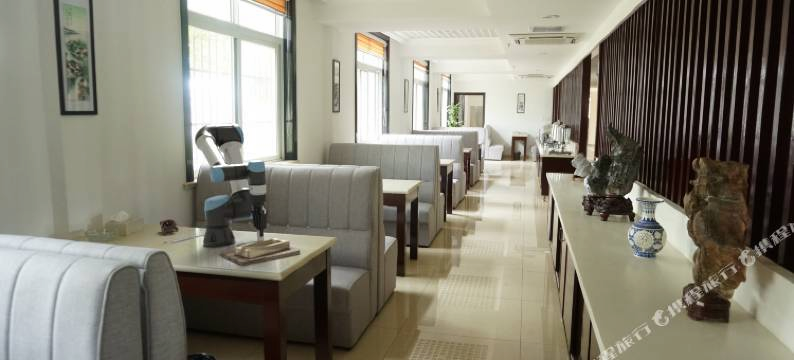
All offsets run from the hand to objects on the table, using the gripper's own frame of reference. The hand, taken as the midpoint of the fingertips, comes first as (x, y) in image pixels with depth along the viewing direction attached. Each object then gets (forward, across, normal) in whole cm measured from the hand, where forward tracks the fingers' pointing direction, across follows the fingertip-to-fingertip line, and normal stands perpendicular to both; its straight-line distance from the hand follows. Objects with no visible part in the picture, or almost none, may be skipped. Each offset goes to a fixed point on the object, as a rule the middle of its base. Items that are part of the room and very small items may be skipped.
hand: (260, 242), depth 260 cm
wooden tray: (+1, +10, -4) cm, 11 cm away
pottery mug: (+3, -70, -20) cm, 72 cm away
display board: (+3, +8, -5) cm, 10 cm away
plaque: (+4, -50, -18) cm, 53 cm away
